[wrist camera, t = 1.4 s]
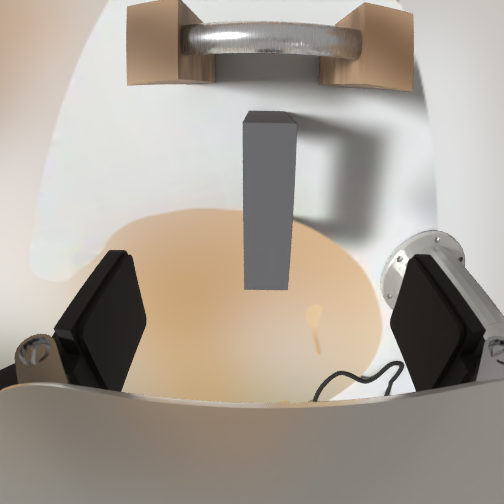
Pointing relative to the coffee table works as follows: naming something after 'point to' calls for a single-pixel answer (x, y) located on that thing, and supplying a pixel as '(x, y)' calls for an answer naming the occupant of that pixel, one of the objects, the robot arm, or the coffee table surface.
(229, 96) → the coffee table surface
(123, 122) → the coffee table surface
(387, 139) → the coffee table surface
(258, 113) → the grey channel bracket
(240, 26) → the hook stand
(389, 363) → the cable
